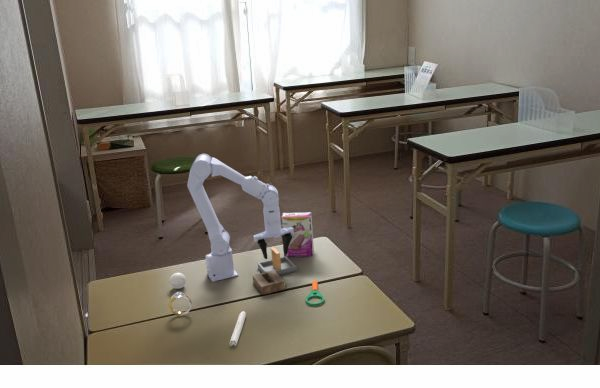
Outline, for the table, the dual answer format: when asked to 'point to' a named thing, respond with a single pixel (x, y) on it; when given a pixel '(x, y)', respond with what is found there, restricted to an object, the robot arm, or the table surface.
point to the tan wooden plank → (276, 259)
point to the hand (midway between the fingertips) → (275, 255)
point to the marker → (238, 328)
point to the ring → (179, 295)
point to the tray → (285, 269)
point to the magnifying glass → (314, 295)
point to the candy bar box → (299, 233)
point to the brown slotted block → (274, 282)
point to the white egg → (177, 280)
